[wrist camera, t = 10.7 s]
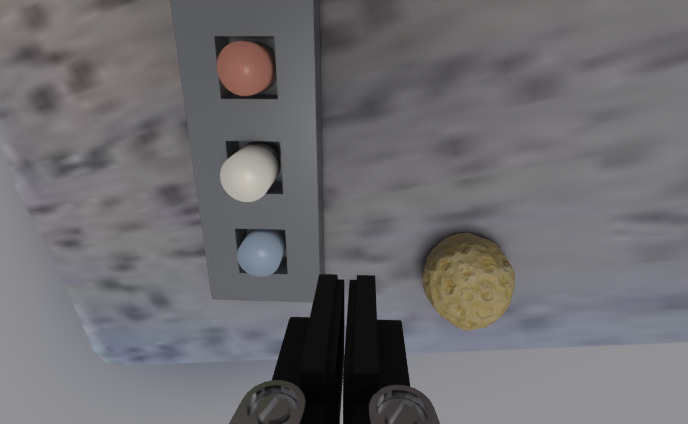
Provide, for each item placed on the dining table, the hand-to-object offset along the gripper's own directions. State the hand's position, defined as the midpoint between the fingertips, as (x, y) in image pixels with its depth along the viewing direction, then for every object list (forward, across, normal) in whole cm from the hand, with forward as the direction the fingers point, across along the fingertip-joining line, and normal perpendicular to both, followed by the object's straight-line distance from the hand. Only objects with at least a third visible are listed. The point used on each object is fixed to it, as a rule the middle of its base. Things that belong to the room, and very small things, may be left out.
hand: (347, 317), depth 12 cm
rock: (+32, -12, +16) cm, 38 cm away
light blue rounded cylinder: (+31, +10, +12) cm, 35 cm away
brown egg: (+31, +10, -6) cm, 33 cm away
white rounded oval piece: (+29, +10, +3) cm, 30 cm away
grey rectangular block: (+32, +10, +3) cm, 34 cm away
